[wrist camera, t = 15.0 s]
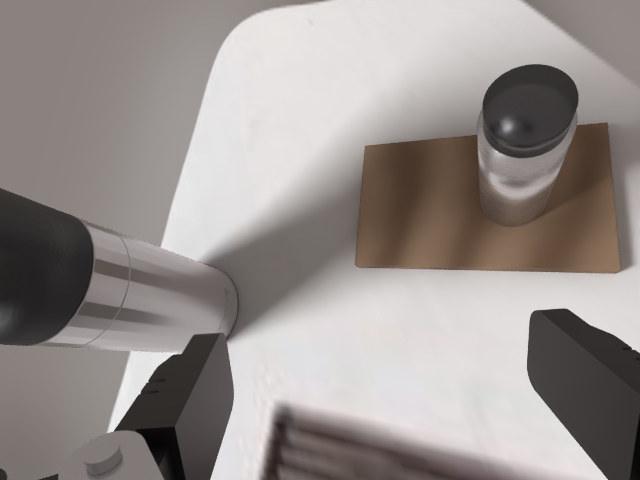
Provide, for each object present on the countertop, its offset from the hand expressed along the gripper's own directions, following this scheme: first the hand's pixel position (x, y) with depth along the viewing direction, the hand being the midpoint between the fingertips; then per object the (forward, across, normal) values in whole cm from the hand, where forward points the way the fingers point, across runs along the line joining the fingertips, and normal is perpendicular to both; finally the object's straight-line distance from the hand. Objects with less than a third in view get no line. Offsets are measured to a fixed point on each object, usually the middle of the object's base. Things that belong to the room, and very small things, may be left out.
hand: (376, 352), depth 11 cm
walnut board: (+26, -12, +2) cm, 28 cm away
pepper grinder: (+24, -14, +1) cm, 28 cm away
